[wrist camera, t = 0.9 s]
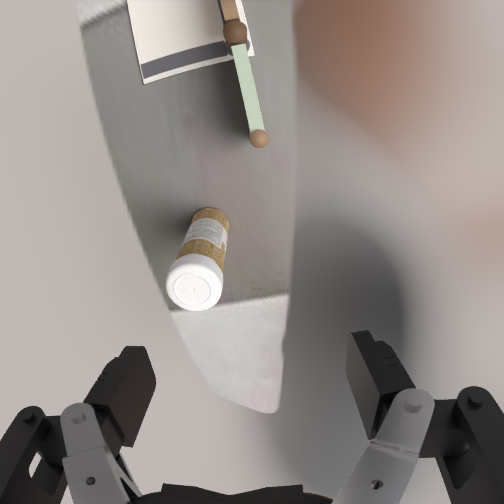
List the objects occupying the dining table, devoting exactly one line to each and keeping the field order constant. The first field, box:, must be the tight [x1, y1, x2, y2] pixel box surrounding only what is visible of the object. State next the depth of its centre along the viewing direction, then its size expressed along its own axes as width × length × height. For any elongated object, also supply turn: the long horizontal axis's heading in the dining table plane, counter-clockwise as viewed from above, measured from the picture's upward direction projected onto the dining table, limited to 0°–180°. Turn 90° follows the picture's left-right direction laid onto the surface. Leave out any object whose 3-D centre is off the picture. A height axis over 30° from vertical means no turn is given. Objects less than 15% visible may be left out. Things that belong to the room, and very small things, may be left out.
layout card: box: [127, 0, 255, 84], centre depth 24 cm, size 12×12×1 cm
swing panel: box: [231, 44, 269, 148], centre depth 25 cm, size 9×2×6 cm, turn 12°
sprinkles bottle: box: [166, 208, 229, 311], centre depth 29 cm, size 5×5×14 cm
